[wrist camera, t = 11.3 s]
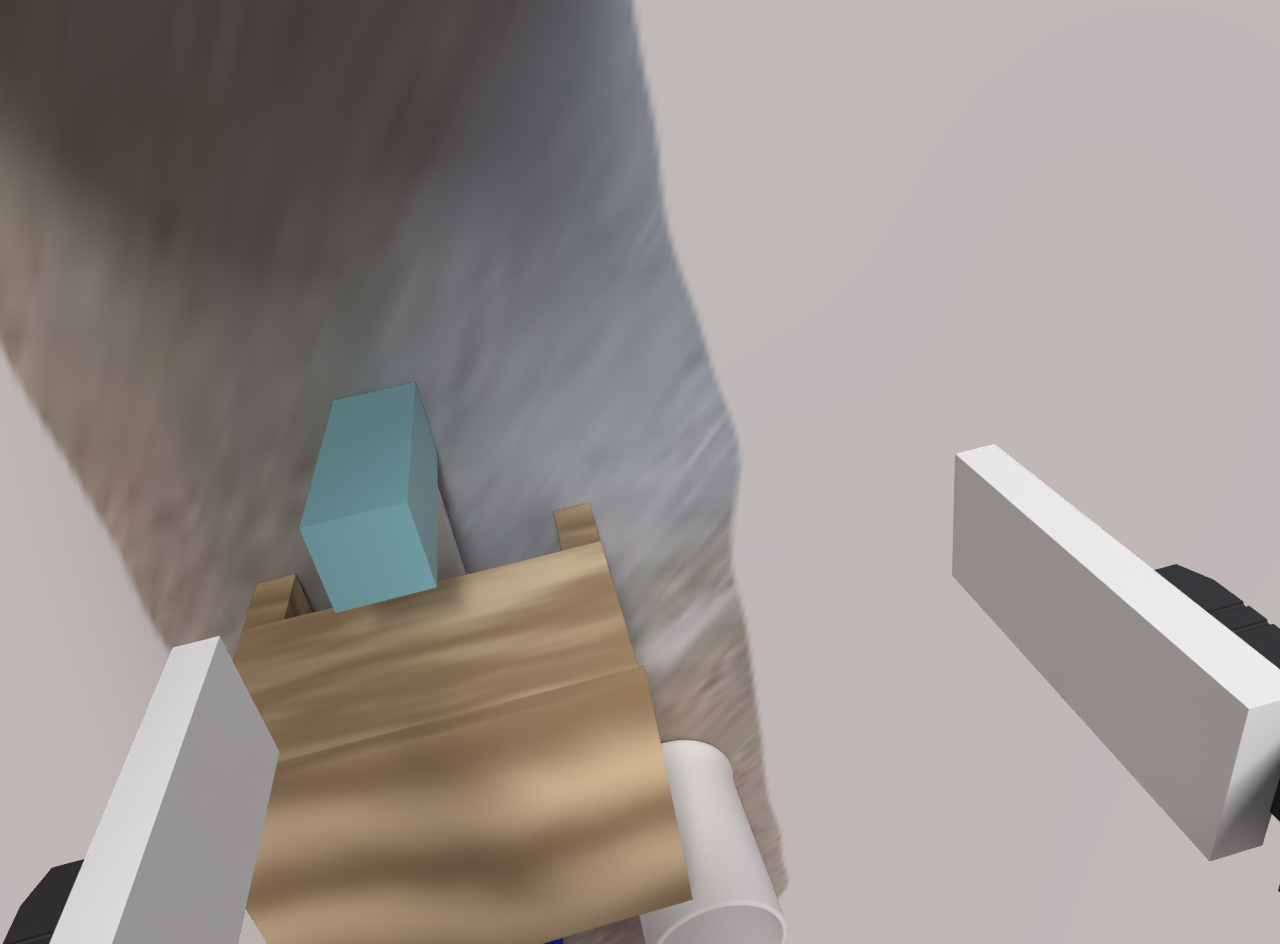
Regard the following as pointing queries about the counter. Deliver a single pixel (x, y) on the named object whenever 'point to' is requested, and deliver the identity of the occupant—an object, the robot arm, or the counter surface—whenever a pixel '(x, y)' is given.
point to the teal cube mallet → (378, 502)
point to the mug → (714, 859)
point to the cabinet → (460, 760)
